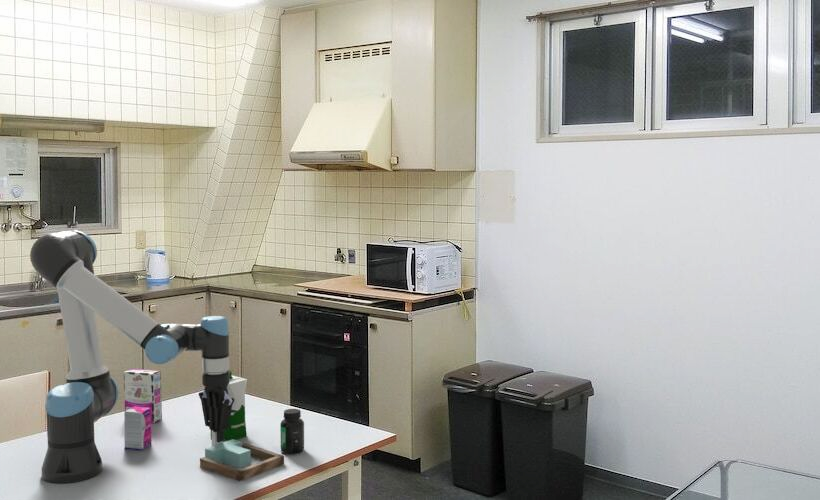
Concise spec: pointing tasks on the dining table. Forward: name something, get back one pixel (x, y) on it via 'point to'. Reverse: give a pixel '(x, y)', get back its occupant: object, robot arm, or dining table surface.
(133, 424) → the supplement box
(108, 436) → the dining table surface
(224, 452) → the tee
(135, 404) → the candy bar box
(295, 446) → the supplement bottle
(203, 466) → the wooden u-shaped frame
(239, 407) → the milk carton
